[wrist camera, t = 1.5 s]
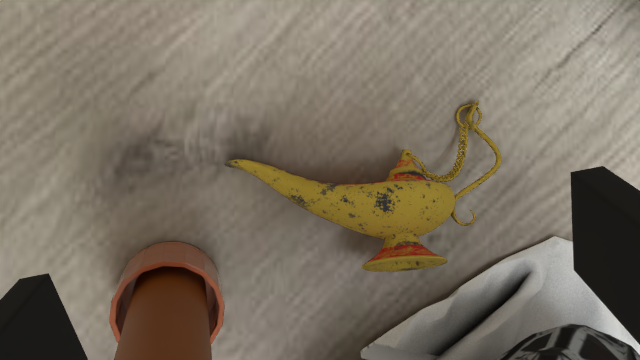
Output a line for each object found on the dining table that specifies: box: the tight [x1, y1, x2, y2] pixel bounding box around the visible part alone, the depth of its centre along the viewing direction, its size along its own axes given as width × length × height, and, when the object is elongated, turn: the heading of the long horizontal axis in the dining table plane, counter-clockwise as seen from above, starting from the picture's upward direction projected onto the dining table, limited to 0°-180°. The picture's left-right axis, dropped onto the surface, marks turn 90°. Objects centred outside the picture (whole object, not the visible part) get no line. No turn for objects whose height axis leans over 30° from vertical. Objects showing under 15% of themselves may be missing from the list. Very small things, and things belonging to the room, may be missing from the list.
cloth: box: [361, 236, 640, 360], centre depth 40 cm, size 26×14×2 cm, turn 72°
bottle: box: [114, 266, 212, 360], centre depth 26 cm, size 4×4×16 cm
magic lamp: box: [224, 100, 501, 272], centre depth 34 cm, size 7×18×11 cm
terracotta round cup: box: [110, 242, 225, 344], centre depth 32 cm, size 6×6×4 cm
